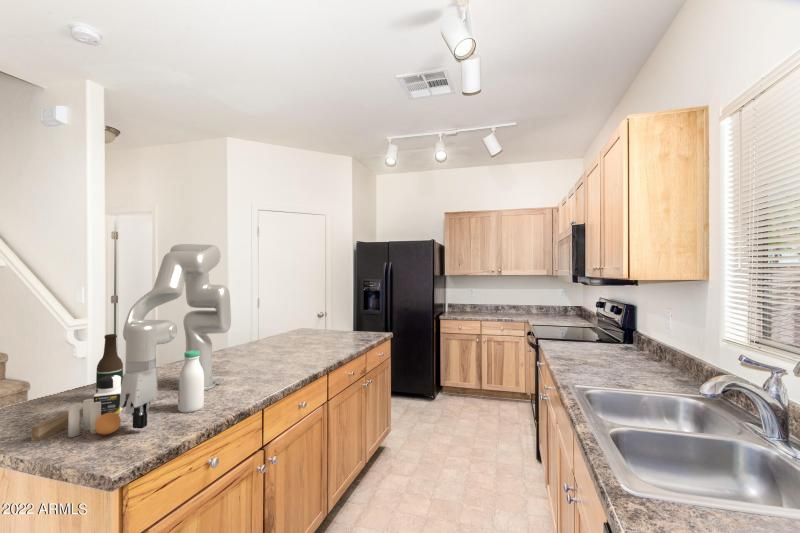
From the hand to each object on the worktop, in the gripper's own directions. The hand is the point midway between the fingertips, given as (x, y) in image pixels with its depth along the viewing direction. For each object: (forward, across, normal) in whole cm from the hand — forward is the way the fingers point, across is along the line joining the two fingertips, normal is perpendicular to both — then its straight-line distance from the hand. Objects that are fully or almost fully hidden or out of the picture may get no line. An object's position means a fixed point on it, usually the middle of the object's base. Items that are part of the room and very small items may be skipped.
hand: (139, 427), depth 110 cm
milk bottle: (+2, -18, +5) cm, 19 cm away
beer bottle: (+2, -27, -30) cm, 41 cm away
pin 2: (+2, -2, -17) cm, 18 cm away
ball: (-2, +1, -8) cm, 9 cm away
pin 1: (+2, +2, -17) cm, 18 cm away
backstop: (+2, 0, -25) cm, 25 cm away
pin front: (+2, 0, -13) cm, 13 cm away
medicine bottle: (+2, -15, -21) cm, 26 cm away
